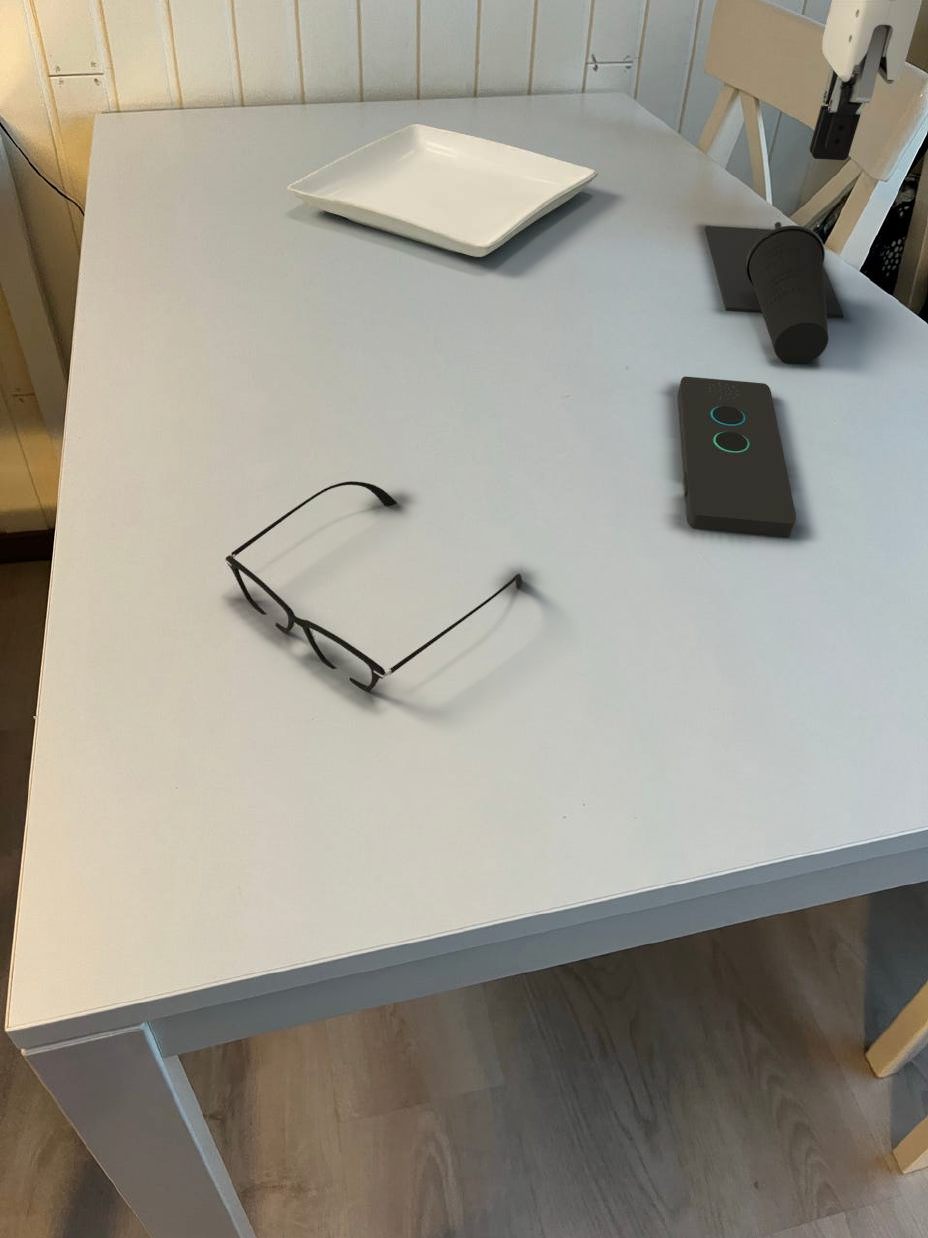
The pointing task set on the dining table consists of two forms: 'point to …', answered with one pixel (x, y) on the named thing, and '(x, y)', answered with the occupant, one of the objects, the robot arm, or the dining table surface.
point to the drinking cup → (791, 291)
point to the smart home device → (733, 458)
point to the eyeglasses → (306, 625)
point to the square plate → (443, 188)
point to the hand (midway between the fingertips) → (827, 155)
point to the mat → (731, 269)
